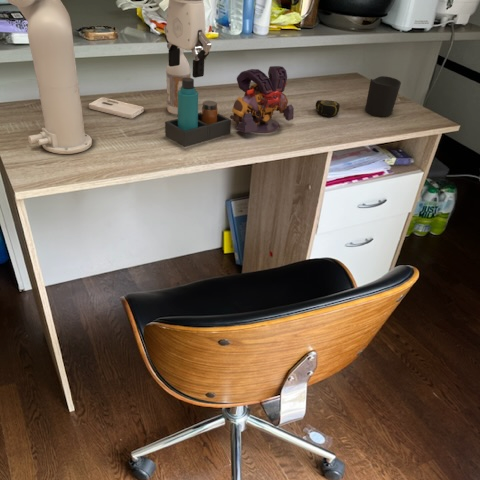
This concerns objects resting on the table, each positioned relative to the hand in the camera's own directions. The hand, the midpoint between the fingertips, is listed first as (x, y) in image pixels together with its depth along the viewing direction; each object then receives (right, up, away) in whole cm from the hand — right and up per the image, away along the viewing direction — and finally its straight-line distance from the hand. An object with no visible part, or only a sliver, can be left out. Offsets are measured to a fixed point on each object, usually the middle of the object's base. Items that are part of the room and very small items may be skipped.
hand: (185, 71), depth 133 cm
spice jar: (+5, -10, +16) cm, 19 cm away
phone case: (-23, 0, +25) cm, 34 cm away
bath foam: (-5, 0, +27) cm, 28 cm away
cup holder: (+2, -12, +14) cm, 18 cm away
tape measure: (+41, +3, +35) cm, 54 cm away
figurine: (+19, -7, +22) cm, 30 cm away
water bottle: (-1, -13, +11) cm, 17 cm away
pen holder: (+59, +5, +39) cm, 71 cm away
